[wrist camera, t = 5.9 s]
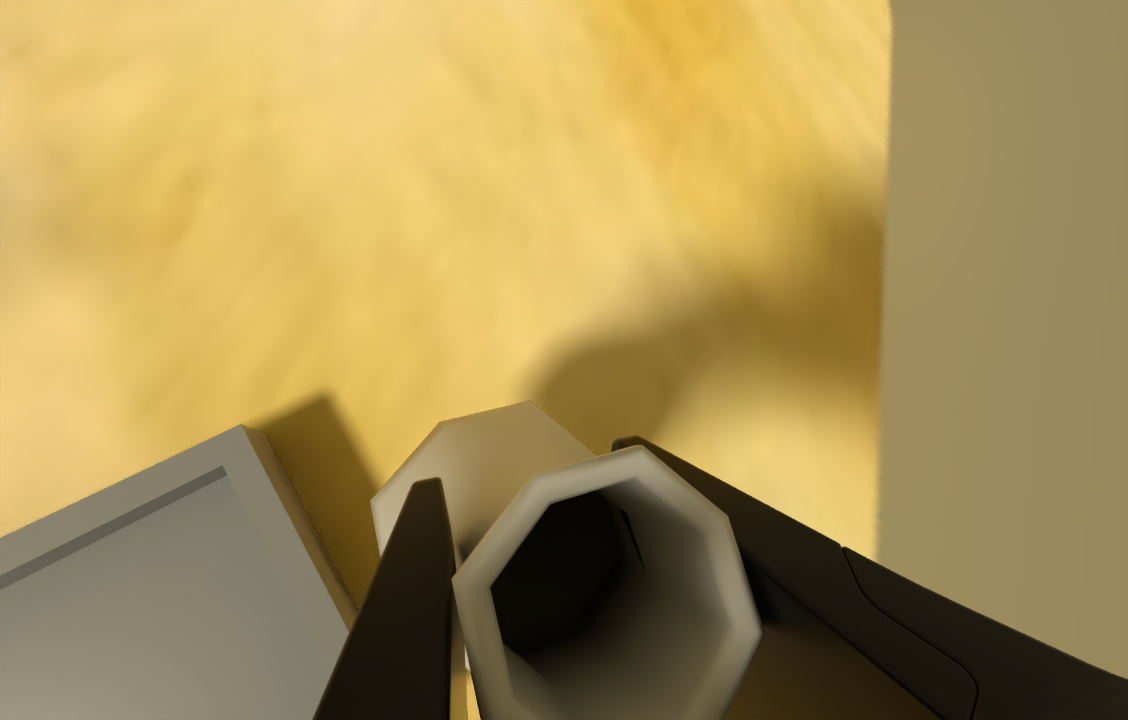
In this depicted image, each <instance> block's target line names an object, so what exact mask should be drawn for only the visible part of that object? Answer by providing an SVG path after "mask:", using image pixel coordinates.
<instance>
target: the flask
mask: <svg viewBox="0 0 1128 720" xmlns="http://www.w3.org/2000/svg"><path fill="white" fill-rule="evenodd" d="M433 477H440V478H441V480H442V484H443V489H444V494H445V499H446V504H447V509H448V515H449V520H450V525H451V531H452V538H453V546H454V554H455V562H456V570H457V572H456V574H455V575H454V576H453V578H452V579H451V580H452V585H453V590H454V595H455V599H456V604H457V609H458V614H459V618H460V623H461V628H462V633H463V637H464V642H465V666H466V669H467V670H468V671H469V672H471V676H472V680H473V685H474V690H475V695H476V699H477V704H478V709H479V714H480V718H481V720H724V719H725V717H726V715H727V713H728V711H729V709H730V707H731V705H732V703H733V701H734V699H735V696H736V694H737V692H738V690H739V688H740V686H741V684H742V682H743V680H744V678H745V676H746V674H747V671H748V669H749V667H750V665H751V663H752V661H753V659H754V657H755V655H756V653H757V651H758V649H759V646H760V644H761V642H762V640H763V638H764V636H765V631H764V628H763V624H762V621H761V618H760V615H759V612H758V609H757V606H756V602H755V599H754V596H753V593H752V590H751V587H750V584H749V581H748V577H747V574H746V571H745V568H744V565H743V562H742V559H741V555H740V552H739V549H738V546H737V543H736V540H735V537H734V533H733V530H732V527H731V524H730V521H729V518H728V516H727V515H726V514H725V513H724V512H723V511H721V510H720V509H719V508H718V507H717V506H715V505H714V504H713V503H712V502H710V501H709V500H708V499H707V498H706V497H704V496H703V495H702V494H701V493H700V492H698V491H697V490H696V489H695V488H694V487H692V486H691V485H690V484H689V483H688V482H686V481H685V480H684V479H683V478H682V477H680V476H679V475H678V474H677V473H676V472H674V471H673V470H672V469H671V468H670V467H668V466H667V465H666V464H665V463H663V462H662V461H661V460H660V459H659V458H657V457H656V456H655V455H654V454H653V453H651V452H650V451H649V450H648V449H647V448H645V447H644V446H643V445H634V446H631V447H627V448H624V449H620V450H617V451H613V452H610V453H606V454H602V455H599V456H597V455H596V454H595V453H594V452H592V451H591V450H590V449H589V448H588V447H586V446H585V445H584V444H583V443H582V442H580V441H579V440H578V439H577V438H575V437H574V436H573V435H572V434H571V433H569V432H568V431H567V430H566V429H565V428H563V427H562V426H561V425H560V424H558V423H557V422H556V421H555V420H554V419H552V418H551V417H550V416H549V415H548V414H546V413H545V412H544V411H543V410H542V409H540V408H539V407H538V406H537V405H535V404H534V403H533V402H532V401H526V402H522V403H518V404H514V405H509V406H505V407H501V408H497V409H493V410H488V411H484V412H480V413H476V414H471V415H467V416H463V417H459V418H454V419H450V420H446V421H442V422H439V423H438V424H437V426H436V427H435V428H434V429H433V430H432V431H431V432H430V434H429V435H428V436H427V437H426V438H425V439H424V440H423V441H422V443H421V444H420V445H419V446H418V447H417V448H416V449H415V451H414V452H413V453H412V454H411V455H410V456H409V457H408V458H407V460H406V461H405V462H404V463H403V464H402V465H401V466H400V468H399V469H398V470H397V471H396V472H395V473H394V474H393V476H392V477H391V478H390V479H389V480H388V481H387V482H386V483H385V485H384V486H383V487H382V488H381V489H380V490H379V491H378V493H377V494H376V495H375V496H374V497H373V498H372V499H371V500H370V505H371V510H372V515H373V521H374V526H375V532H376V537H377V542H378V548H379V553H380V558H381V556H382V553H383V551H384V549H385V546H386V544H387V542H388V539H389V537H390V535H391V532H392V530H393V528H394V525H395V523H396V520H397V518H398V516H399V513H400V511H401V509H402V506H403V504H404V502H405V499H406V497H407V495H408V492H409V490H410V487H411V486H412V484H413V483H414V482H415V481H418V480H423V479H428V478H433ZM619 508H620V509H622V510H623V511H624V512H626V514H627V517H628V520H629V523H630V526H631V529H632V531H633V534H634V537H635V540H636V543H637V546H638V548H639V552H640V555H641V558H642V561H643V564H644V567H645V570H644V568H643V565H642V563H641V561H640V558H639V556H638V554H637V551H636V549H635V546H634V544H633V541H632V539H631V536H630V534H629V531H628V529H627V527H626V524H625V522H624V519H623V517H622V514H621V512H620V509H619Z"/></svg>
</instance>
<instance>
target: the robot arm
mask: <svg viewBox="0 0 1128 720" xmlns="http://www.w3.org/2000/svg"><path fill="white" fill-rule="evenodd" d="M634 445H643V446H644V447H645V448H647V449H648V450H649V451H650V452H651V453H653V454H654V455H655V456H656V457H657V458H659V459H660V460H661V461H662V462H663V463H665V464H666V465H667V466H668V467H670V468H671V469H672V470H673V471H674V472H676V473H677V474H678V475H679V476H680V477H682V478H683V479H684V480H685V481H686V482H688V483H689V484H690V485H691V486H692V487H694V488H695V489H696V490H697V491H698V492H700V493H701V494H702V495H703V496H704V497H706V498H707V499H708V500H709V501H710V502H712V503H713V504H714V505H715V506H717V507H718V508H719V509H720V510H721V511H723V512H724V513H725V514H726V515H727V516H728V518H729V521H730V524H731V527H732V530H733V533H734V537H735V540H736V543H737V546H738V549H739V552H740V555H741V559H742V562H743V565H744V568H745V571H746V574H747V577H748V581H749V584H750V587H751V590H752V593H753V596H754V599H755V602H756V606H757V609H758V612H759V615H760V618H761V621H762V624H763V628H764V631H765V636H764V638H763V640H762V642H761V644H760V646H759V649H758V651H757V653H756V655H755V657H754V659H753V661H752V663H751V665H750V667H749V669H748V671H747V674H746V676H745V678H744V680H743V682H742V684H741V686H740V688H739V690H738V692H737V694H736V696H735V699H734V701H733V703H732V705H731V707H730V709H729V711H728V713H727V715H726V717H725V719H724V720H1128V679H1126V678H1123V677H1120V676H1117V675H1115V674H1112V673H1110V672H1107V671H1105V670H1103V669H1100V668H1098V667H1096V666H1093V665H1091V664H1088V663H1086V662H1084V661H1082V660H1080V659H1078V658H1075V657H1073V656H1071V655H1069V654H1067V653H1064V652H1062V651H1060V650H1058V649H1056V648H1054V647H1052V646H1049V645H1047V644H1045V643H1043V642H1040V641H1038V640H1036V639H1034V638H1032V637H1030V636H1028V635H1025V634H1023V633H1021V632H1019V631H1017V630H1015V629H1012V628H1010V627H1008V626H1006V625H1004V624H1002V623H999V622H997V621H995V620H993V619H991V618H989V617H986V616H984V615H982V614H980V613H977V612H975V611H973V610H971V609H969V608H967V607H965V606H963V605H960V604H958V603H956V602H954V601H952V600H950V599H948V598H946V597H944V596H942V595H940V594H937V593H935V592H933V591H931V590H929V589H927V588H925V587H922V586H921V585H919V584H916V583H914V582H913V581H911V580H908V579H907V578H905V577H903V576H901V575H899V574H897V573H895V572H893V571H891V570H889V569H887V568H885V567H883V566H881V565H879V564H878V563H876V562H874V561H872V560H870V559H868V558H866V557H864V556H862V555H860V554H859V553H857V552H855V551H853V550H851V549H849V548H847V547H845V546H844V547H841V546H840V544H839V543H838V542H836V541H834V540H832V539H830V538H828V537H826V536H825V535H823V534H821V533H819V532H817V531H815V530H813V529H812V528H810V527H808V526H806V525H804V524H802V523H800V522H798V521H797V520H795V519H793V518H791V517H789V516H787V515H785V514H783V513H782V512H780V511H778V510H776V509H774V508H772V507H770V506H769V505H767V504H765V503H763V502H761V501H759V500H757V499H755V498H754V497H752V496H750V495H748V494H746V493H744V492H742V491H740V490H739V489H737V488H735V487H733V486H731V485H729V484H727V483H726V482H724V481H722V480H720V479H718V478H716V477H714V476H712V475H711V474H709V473H707V472H705V471H703V470H701V469H699V468H697V467H696V466H694V465H692V464H690V463H688V462H686V461H684V460H682V459H681V458H679V457H677V456H675V455H673V454H671V453H669V452H668V451H666V450H664V449H662V448H660V447H658V446H656V445H654V444H653V443H651V442H649V441H647V440H645V439H643V438H641V437H639V436H636V435H633V436H628V437H623V438H618V439H616V440H615V441H614V442H613V444H612V451H611V452H613V451H617V450H620V449H624V448H627V447H631V446H634ZM619 509H620V508H619ZM620 512H621V514H622V517H623V519H624V522H625V524H626V527H627V529H628V531H629V534H630V536H631V539H632V541H633V544H634V546H635V549H636V551H637V554H638V556H639V558H640V561H641V563H642V565H643V568H644V570H645V567H644V564H643V561H642V558H641V555H640V552H639V548H638V546H637V543H636V540H635V537H634V534H633V531H632V529H631V526H630V523H629V520H628V517H627V514H626V512H624V511H623V510H622V509H620ZM456 572H457V570H456V562H455V554H454V546H453V538H452V531H451V525H450V520H449V515H448V509H447V504H446V499H445V494H444V489H443V484H442V480H441V478H440V477H433V478H428V479H423V480H418V481H415V482H414V483H413V484H412V486H411V487H410V490H409V492H408V495H407V497H406V499H405V502H404V504H403V506H402V509H401V511H400V513H399V516H398V518H397V520H396V523H395V525H394V528H393V530H392V532H391V535H390V537H389V539H388V542H387V544H386V546H385V549H384V551H383V553H382V556H381V558H380V561H379V563H378V565H377V568H376V570H375V572H374V575H373V577H372V579H371V582H370V584H369V586H368V589H367V591H366V594H365V596H364V598H363V601H362V603H361V605H360V608H359V610H358V612H357V615H356V617H355V619H354V622H353V624H352V627H351V629H350V631H349V634H348V636H347V638H346V641H345V643H344V645H343V648H342V650H341V652H340V655H339V657H338V660H337V662H336V664H335V667H334V669H333V671H332V674H331V676H330V678H329V681H328V683H327V685H326V688H325V690H324V693H323V695H322V697H321V700H320V702H319V704H318V707H317V709H316V711H315V714H314V716H313V718H312V720H468V714H467V690H466V666H465V642H464V637H463V633H462V628H461V623H460V618H459V614H458V609H457V604H456V599H455V595H454V590H453V585H452V580H451V579H452V578H453V576H454V575H455V574H456Z"/></svg>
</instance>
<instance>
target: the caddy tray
mask: <svg viewBox="0 0 1128 720" xmlns="http://www.w3.org/2000/svg"><path fill="white" fill-rule="evenodd" d="M357 612H358V610H357V608H356V607H355V605H354V603H353V601H352V599H351V597H350V595H349V593H348V591H347V589H346V588H345V586H344V584H343V582H342V580H341V578H340V576H339V574H338V572H337V570H336V568H335V567H334V565H333V563H332V561H331V559H330V557H329V555H328V553H327V551H326V549H325V548H324V546H323V544H322V542H321V540H320V538H319V536H318V534H317V532H316V530H315V528H314V527H313V525H312V523H311V521H310V519H309V517H308V515H307V513H306V511H305V509H304V508H303V506H302V504H301V502H300V500H299V498H298V496H297V494H296V492H295V490H294V488H293V487H292V485H291V483H290V481H289V479H288V477H287V475H286V473H285V471H284V469H283V468H282V466H281V464H280V462H279V460H278V458H277V456H276V454H275V452H274V450H273V448H272V447H271V445H270V443H269V441H268V439H267V437H266V435H265V433H262V432H259V431H257V430H254V429H252V428H249V427H247V426H244V425H241V424H240V425H238V426H236V427H234V428H232V429H230V430H228V431H226V432H223V433H221V434H219V435H217V436H215V437H213V438H211V439H209V440H207V441H204V442H202V443H200V444H198V445H196V446H194V447H192V448H190V449H188V450H185V451H183V452H181V453H179V454H177V455H175V456H173V457H171V458H169V459H167V460H164V461H162V462H160V463H158V464H156V465H154V466H152V467H150V468H148V469H145V470H143V471H141V472H139V473H137V474H135V475H133V476H131V477H129V478H126V479H124V480H122V481H120V482H118V483H116V484H114V485H112V486H110V487H107V488H105V489H103V490H101V491H99V492H97V493H95V494H93V495H91V496H88V497H86V498H84V499H82V500H80V501H78V502H76V503H74V504H72V505H69V506H67V507H65V508H63V509H61V510H59V511H57V512H55V513H53V514H50V515H48V516H46V517H44V518H42V519H40V520H38V521H36V522H34V523H31V524H29V525H27V526H25V527H23V528H21V529H19V530H17V531H15V532H12V533H10V534H8V535H6V536H4V537H2V538H0V720H312V718H313V716H314V714H315V711H316V709H317V707H318V704H319V702H320V700H321V697H322V695H323V693H324V690H325V688H326V685H327V683H328V681H329V678H330V676H331V674H332V671H333V669H334V667H335V664H336V662H337V660H338V657H339V655H340V652H341V650H342V648H343V645H344V643H345V641H346V638H347V636H348V634H349V631H350V629H351V627H352V624H353V622H354V619H355V617H356V615H357Z"/></svg>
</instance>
